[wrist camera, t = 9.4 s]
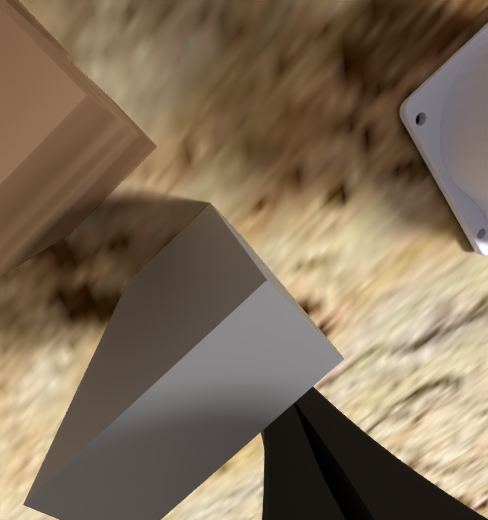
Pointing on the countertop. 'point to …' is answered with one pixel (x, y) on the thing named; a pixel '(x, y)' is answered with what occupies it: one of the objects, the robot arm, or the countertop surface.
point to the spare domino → (180, 379)
